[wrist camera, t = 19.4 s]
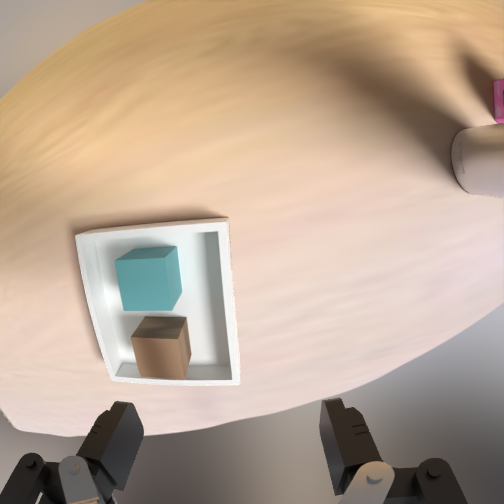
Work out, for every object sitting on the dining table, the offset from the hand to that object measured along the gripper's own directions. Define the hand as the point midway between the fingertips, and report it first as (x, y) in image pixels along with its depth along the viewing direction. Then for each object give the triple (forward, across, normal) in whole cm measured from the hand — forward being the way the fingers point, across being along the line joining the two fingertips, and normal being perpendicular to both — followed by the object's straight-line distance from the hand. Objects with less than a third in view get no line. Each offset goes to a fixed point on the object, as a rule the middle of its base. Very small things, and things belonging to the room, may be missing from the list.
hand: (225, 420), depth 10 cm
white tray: (+21, +9, +3) cm, 23 cm away
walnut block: (+20, +9, +7) cm, 23 cm away
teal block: (+20, +9, -1) cm, 22 cm away
